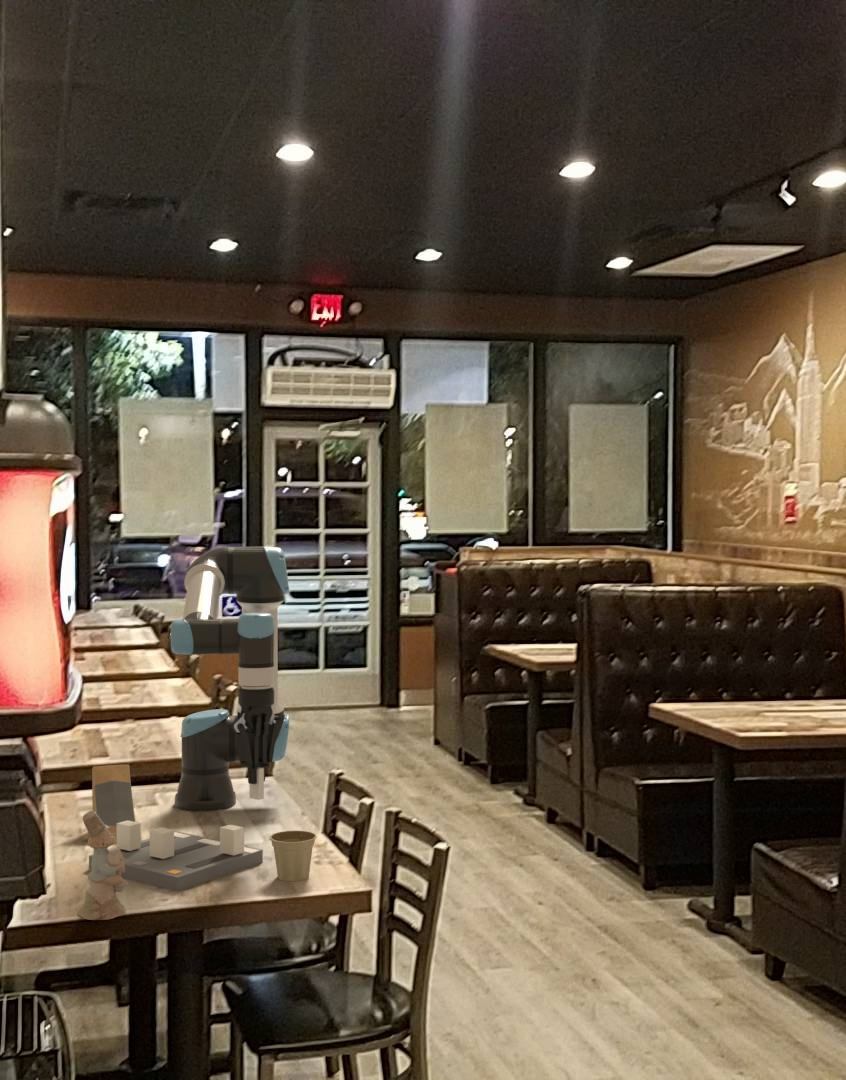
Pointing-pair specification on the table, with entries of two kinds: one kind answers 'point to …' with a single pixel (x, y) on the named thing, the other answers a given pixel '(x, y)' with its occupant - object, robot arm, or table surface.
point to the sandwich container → (112, 795)
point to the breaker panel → (185, 862)
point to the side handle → (129, 835)
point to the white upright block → (232, 840)
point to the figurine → (103, 873)
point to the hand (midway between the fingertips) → (256, 798)
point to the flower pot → (293, 854)
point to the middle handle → (161, 843)
